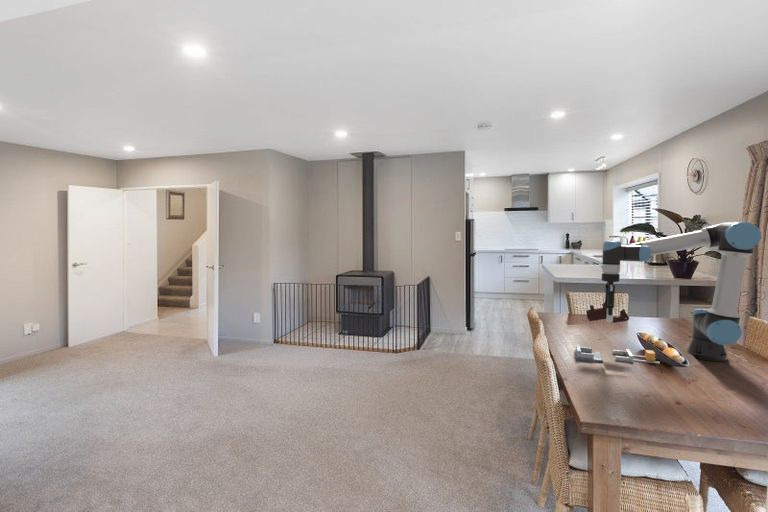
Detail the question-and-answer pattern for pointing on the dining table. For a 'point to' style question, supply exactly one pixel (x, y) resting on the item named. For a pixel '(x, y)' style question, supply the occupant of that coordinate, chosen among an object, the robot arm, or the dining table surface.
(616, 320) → the dark brown irregular piece
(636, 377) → the dining table surface
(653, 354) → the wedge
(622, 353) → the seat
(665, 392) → the dining table surface
